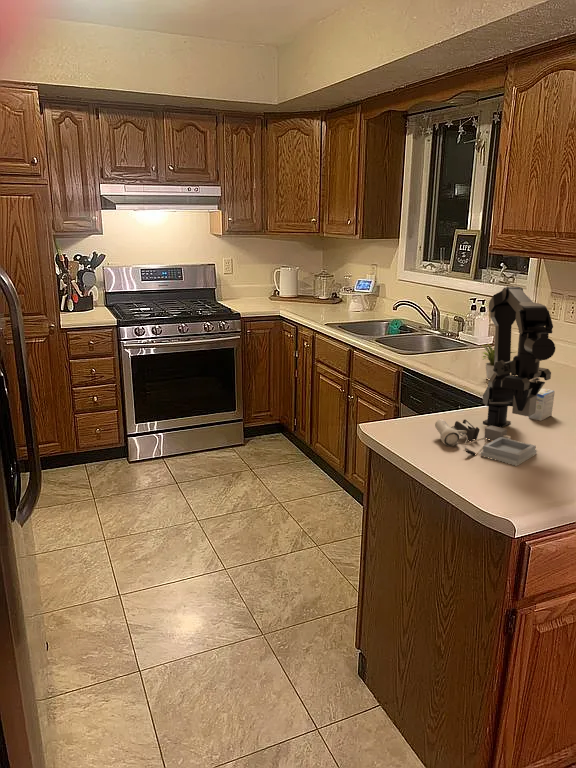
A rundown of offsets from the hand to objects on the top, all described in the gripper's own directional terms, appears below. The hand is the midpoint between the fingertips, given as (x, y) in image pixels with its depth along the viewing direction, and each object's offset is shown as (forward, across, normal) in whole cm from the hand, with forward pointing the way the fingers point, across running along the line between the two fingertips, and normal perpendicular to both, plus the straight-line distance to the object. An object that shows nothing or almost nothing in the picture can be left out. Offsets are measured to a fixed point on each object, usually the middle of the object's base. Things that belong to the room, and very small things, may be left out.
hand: (523, 408), depth 165 cm
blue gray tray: (+12, +6, -1) cm, 13 cm away
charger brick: (+1, 0, 0) cm, 1 cm away
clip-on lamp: (+12, +7, -14) cm, 20 cm away
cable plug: (+12, -3, -9) cm, 15 cm away
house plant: (+11, -68, -41) cm, 80 cm away
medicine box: (+12, -33, -8) cm, 36 cm away
